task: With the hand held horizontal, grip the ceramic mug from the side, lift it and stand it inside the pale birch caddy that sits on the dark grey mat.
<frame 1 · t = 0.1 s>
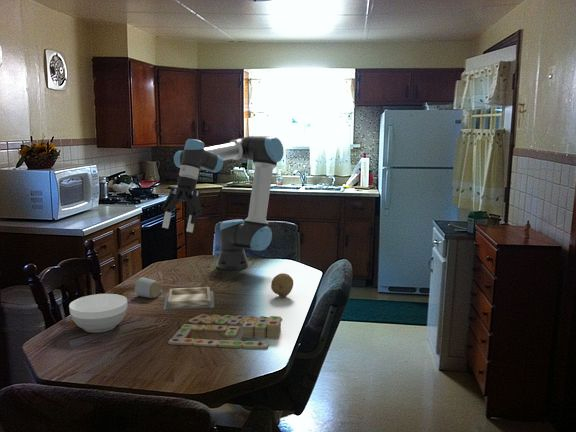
hand: (176, 230, 207), 28 cm above the table, tool tilted 20°, fingers open, 13 cm apart
natural sponge: (281, 297, 213), on the table
caddy: (189, 299, 208), resting on mat
pile of dominoes: (229, 332, 178), on the table
mat: (189, 300, 208), on the table
bowl: (100, 327, 181), on the table
ceramic mug: (150, 296, 214), on the table
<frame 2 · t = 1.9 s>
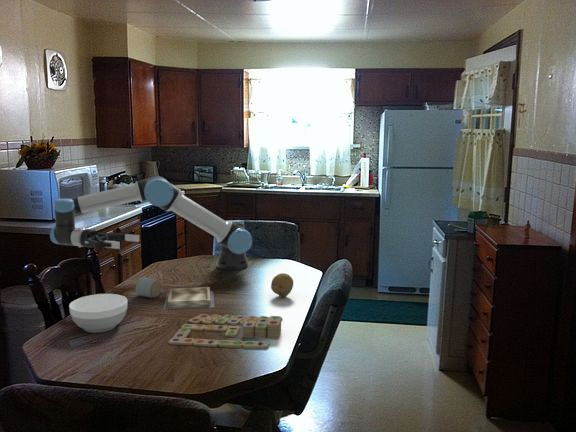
hand: (129, 241, 212), 22 cm above the table, tool horizontal, fingers open, 13 cm apart
nothing on the table moved.
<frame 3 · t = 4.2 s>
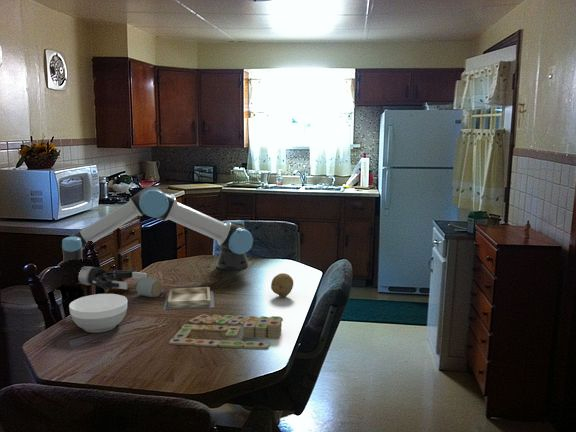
hand: (136, 281, 214), 6 cm above the table, tool horizontal, fingers open, 13 cm apart
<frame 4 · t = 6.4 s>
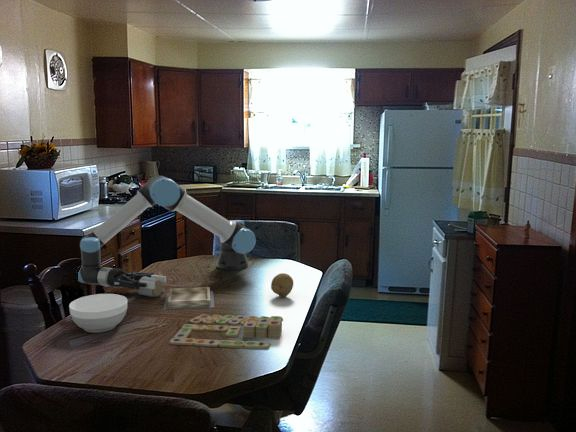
hand: (160, 282, 211), 6 cm above the table, tool horizontal, fingers closed on ceramic mug, 8 cm apart
ceramic mug: (152, 295, 215), on the table, touching gripper
everything else where it was.
when the fingers open (9 cm above the table, at t = 11.3 s): ceramic mug drops 2 cm, resting on caddy.
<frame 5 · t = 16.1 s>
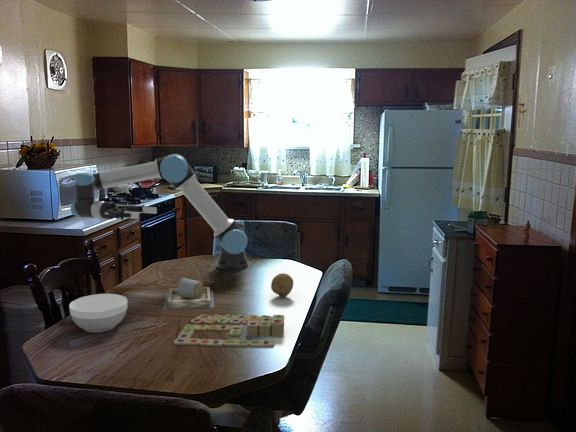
hand: (147, 213, 221), 32 cm above the table, tool horizontal, fingers open, 13 cm apart
ceramic mug: (192, 297, 210), point 1 cm above the table, touching caddy
at the end: ceramic mug inside the target area on the caddy (1.9 cm from its centre), point 0.4 cm above the caddy's base; ceramic mug tilted 1°; the gripper is holding nothing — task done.
